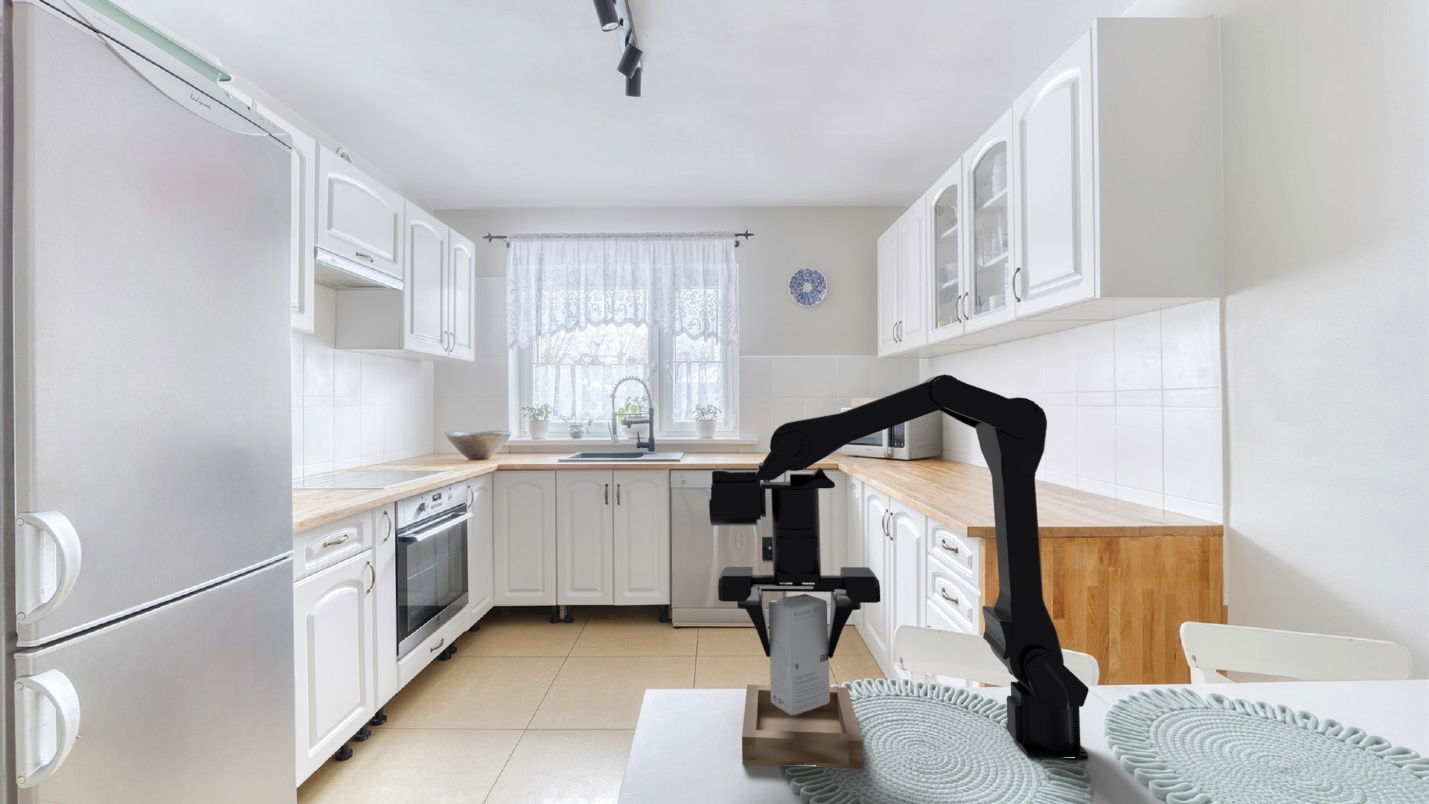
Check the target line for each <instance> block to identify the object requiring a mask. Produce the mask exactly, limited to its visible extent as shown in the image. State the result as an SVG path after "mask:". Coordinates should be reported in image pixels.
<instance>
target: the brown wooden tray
mask: <svg viewBox="0 0 1429 804" xmlns="http://www.w3.org/2000/svg"><path fill="white" fill-rule="evenodd" d="M829 691H830V701H829V703H828V704H826V705H823V706H820V707H817V708H815V709H812V710H809V711H806V712H803V713H800V714H797V715H793V716H792V715H790V714H788V713H786V712H785V711H783V710H781V709H780V708H778V707H777V706H775V705H774V704H773V703H772V702H771V684H770V685H769V684H747V685H746V692H745V693H746V694H745V703H744V711H743V712H744V713H743V723H742V732H741V733H742V734H741V750H742V752H741V760H742V761H741V763H742V765H757V766H760V765H761V766H780V767H781V766H783V767H785V766H784V765H805V764H806V765H816V766H822V767H821V768H826V769H827V768H828V769H830V768H831V769H855V770H856V769H857V770H864V754H863V753H864V751H863V750H864V749H863V743H864V742H863V737H862V734H861V731H860V727H859V724H858V720H857V717H856V712H855V709H854V705H853V702H852V697H851V695H850V691H849V687H847V686H845V687H844V686H842V687H840V686H829Z"/></svg>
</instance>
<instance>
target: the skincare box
mask: <svg viewBox="0 0 1429 804" xmlns="http://www.w3.org/2000/svg"><path fill="white" fill-rule="evenodd" d="M768 623H769V625H768V633H769V640H770V657H769V671H770V672H769V673H770V674H769V676H770V679H769V681H770V683H769V684H770V685H771V702H772V703H773V704H774V705H775V706H777V707H778V708H780V709H781V710H783V711H785V712H786V713H788V714H790V715H792V716H793V715H797V714H800V713H803V712H806V711H809V710H812V709H815V708H817V707H820V706H823V705H826V704H828V703H829V701H830V691H829V687H830V665H829V664H830V662H829V659H830V658H829V656H828V633H829V625H828V603H827V600H825V599H822V598H821V597H820V598H819V597H816V596H813V595H811V594H806V593H803V594H797V595H792V596H790V595H789V596H785V597H781V598H778V599H773V600H769V601H768Z"/></svg>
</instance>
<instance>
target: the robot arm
mask: <svg viewBox="0 0 1429 804" xmlns="http://www.w3.org/2000/svg"><path fill="white" fill-rule="evenodd" d="M937 411H939V412H941V413H944V414H946V415H947V416H949V417H951V418H953V419H954V420H956V421H958V422H960V423H961V424H964V425H967V426H969V427H971V428H972V429H975V432H976V435H977V440H978V444H979V448H980V451H981V453H982V456H983V458H984V459H985V463H986V465H987V467H988V469H989V471H990V475H991V483H992V496H993V498H992V499H993V513H994V515H993V516H994V528H995V531H994V532H995V543H996V546H995V547H996V559H997V562H996V563H997V572H998V573H997V575H998V587H999V590H998V596H997V599H996V600H995V603H994V606H987V605H983V606H982V614H983V619H984V624H985V626H984V627H985V628H984V632H983V635H982V637H983V639H984V641H986V643H987V644H989V647H990V650H991V651H992V653H993V654H994V656H995V657H996V658H997V659H998V660H999V661H1000V662H1001V663H1002V664H1003V666H1005V667H1006V669H1007V671H1008V673H1009V674H1010V675H1012V676H1013V678H1015V679H1016V681H1011V682H1010V695H1007V696H1006V722H1007V723H1006V727H1005V728H1006V730H1007V732H1008V733H1009V735H1010V736H1011V737H1012V738H1013V739H1014V741H1015V742H1016V743H1017V744H1018V746H1019V748H1021V750H1022V751H1023V752H1024V753H1025V755H1026V756H1027V757H1030V758H1046V759H1048V758H1049V759H1062V758H1061V757H1075V758H1076V759H1077V760H1088V759H1089V752H1087V751H1086V749H1085V748H1084V747H1083V746H1082V745H1081V744H1082V743H1081V742H1082V741H1081V717H1080V716H1081V715H1080V707H1084V705H1085V703H1086V700H1087V696H1088V694H1089V692H1090V690H1089V687H1088V686H1087V685H1086V684H1085V683H1084V682H1083V681H1082V680H1081V679H1080V678H1078V677H1077V676H1076V675H1075V674H1074V673H1073V672H1072V671H1071V670H1070V669H1069V668H1068V667H1067V666H1066V665H1064V664H1065V660H1064V655H1063V650H1062V647H1061V643H1060V639H1059V635H1058V632H1057V628H1056V627H1055V624H1054V622H1053V619H1052V617H1051V615H1050V613H1049V610H1048V608H1047V606H1046V603H1045V599H1044V593H1043V592H1044V591H1043V590H1044V589H1043V576H1042V562H1041V547H1040V534H1039V533H1040V530H1039V520H1038V518H1039V517H1038V506H1037V504H1038V503H1037V492H1036V491H1037V490H1036V474H1037V472H1038V471H1037V470H1038V468H1039V465H1040V463H1041V461H1042V459H1043V458H1042V457H1043V455H1044V453H1045V446H1046V438H1047V431H1048V430H1047V429H1048V421H1047V420H1048V419H1047V414H1046V412H1045V410H1044V408H1042V407H1041V406H1040V405H1039V404H1038V403H1036V402H1035V401H1034V400H1031V399H1030V398H1029V399H1028V398H1027V397H1020V396H1019V397H1006V396H1003V395H1002V394H998V393H997V392H993V391H990V390H987V389H984V388H982V387H978V386H975V385H972V384H969V383H966V382H964V381H962V380H960V379H957V378H956V377H955V376H953V375H951V374H940V375H936V376H932V377H930V378H928V379H926V380H924V381H923V382H921V383H919V384H916V385H913V386H910V387H908V388H907V387H906V388H905V389H902V390H899V391H896V392H894V393H891V394H888V395H885V396H883V397H881V398H880V397H879V398H877V399H874V400H872V401H869V402H866V403H862V404H860V405H858V406H856V407H855V406H854V407H852V408H849V409H846V410H843V411H841V412H838V413H833V414H828V415H827V414H826V415H822V416H816V417H810V418H806V419H798V420H794V421H788V422H784V423H782V424H781V425H779V426H778V427H777V428H776V429H775V430H774V431H773V433H772V435H771V438H770V444H769V449H770V451H769V452H768V454H767V455H766V457H765V459H764V460H763V461H762V462H759V463H758V468H757V469H756V470H727V469H714V470H713V471H712V472H711V490H710V498H709V499H708V500H709V501H708V509H709V522H710V525H711V527H713V526H714V527H717V526H723V527H728V526H730V527H731V526H732V527H733V526H737V527H738V526H739V527H740V526H741V527H742V526H743V527H744V526H745V527H746V526H750V527H751V526H752V527H753V526H755V527H757V526H758V521H760V520H761V519H762V518H766V517H767V494H766V493H767V491H766V490H770V494H771V528H772V529H771V536H761V555H762V556H761V560H762V563H772V572H773V573H772V574H765V575H764V574H755V575H754V570H753V566H726V567H725V568H723V570H721V572H720V575H719V578H718V581H717V582H718V584H717V591H718V594H717V595H718V597H717V598H718V601H720V602H722V603H723V602H731V603H733V602H737V604H736V607H737V609H739V610H742V609H743V610H745V611H746V613H747V615H748V617H749V618H750V620H751V622H752V623H753V626H754V627H755V629H756V632H757V635H758V637H759V640H760V643H761V645H762V648H763V651H764V653H765V657H766V658H770V640H769V625H768V621H767V615H766V614H767V613H766V607H765V600H764V599H765V598H764V592H772V593H773V592H782V593H783V592H785V593H788V592H789V593H792V592H796V593H798V592H799V593H801V592H802V593H803V592H805V593H808V592H809V593H814V592H815V593H817V592H818V593H830V611H829V612H830V613H829V622H828V624H829V625H828V657H829V659H833V657H834V654H835V652H836V649H837V646H838V643H839V640H840V637H841V634H842V633H843V630H844V628H845V626H846V623H847V622H848V620H849V618H850V616H851V614H852V612H853V611H859V610H861V609H862V603H863V604H865V603H866V604H867V603H868V604H877V603H880V602H881V585H880V580H879V579H878V577H877V576H876V574H875V572H874V571H873V570H872V569H871V568H870V567H869V566H868V567H865V566H864V567H863V566H862V567H861V566H859V567H857V566H855V567H854V566H853V567H851V566H845V567H844V566H842V567H840V571H839V572H840V573H839V575H835V574H833V575H829V574H827V575H822V568H821V567H822V564H821V527H820V526H821V525H820V523H821V522H820V492H819V491H820V489H834V488H835V486H836V484H835V482H834V481H833V480H832V478H830V477H828V476H827V475H826V472H825V471H824V469H823V468H822V467H821V466H819V467H817V468H816V469H815V471H814V472H813V473H790V474H789V480H787V481H775V480H776V479H777V478H779V477H780V476H782V475H783V474H785V473H786V472H787V471H792V472H797V471H802V470H806V469H808V468H809V467H811V466H812V465H814V464H816V463H817V462H820V461H821V460H823V459H825V458H826V457H828V456H830V455H832V454H833V453H835V452H836V451H838V450H840V449H841V448H842V447H844V446H846V445H847V444H849V443H851V442H854V441H856V440H859V439H861V438H864V437H867V436H871V435H873V434H876V433H879V432H882V431H884V430H887V429H890V428H893V427H896V426H898V425H901V424H903V423H907V422H909V421H912V420H915V419H917V418H921V417H924V416H926V415H929V414H931V413H935V412H937ZM1076 759H1075V760H1076Z"/></svg>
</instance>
